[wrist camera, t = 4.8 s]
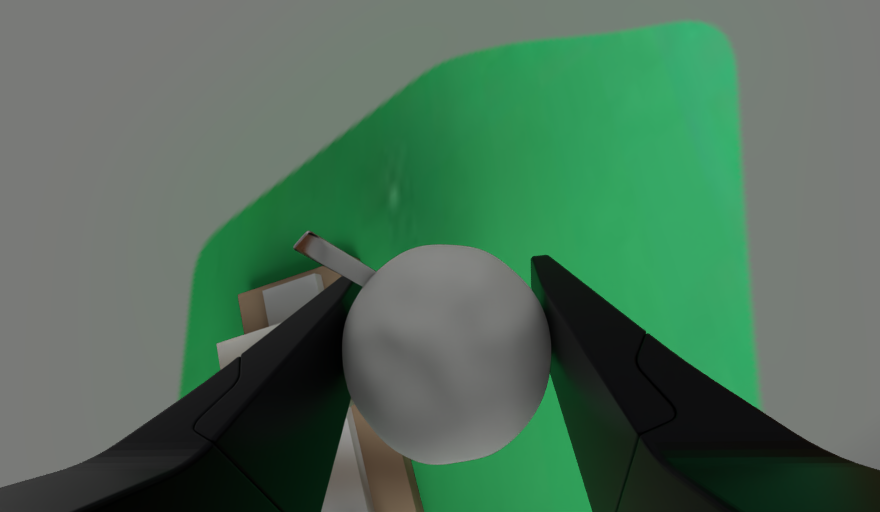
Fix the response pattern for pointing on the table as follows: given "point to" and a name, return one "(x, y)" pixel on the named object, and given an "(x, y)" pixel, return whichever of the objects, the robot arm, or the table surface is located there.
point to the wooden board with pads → (360, 449)
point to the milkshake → (441, 349)
